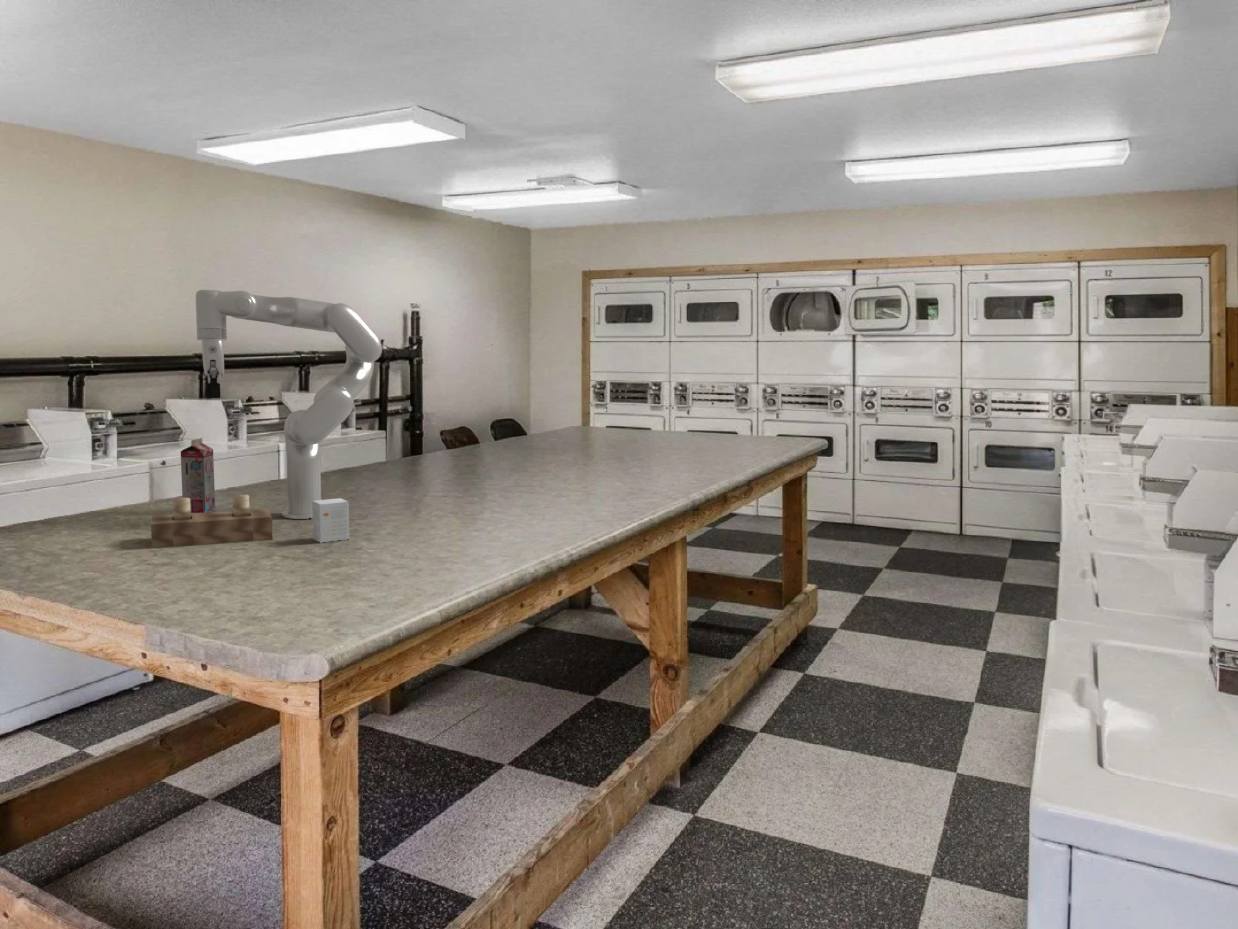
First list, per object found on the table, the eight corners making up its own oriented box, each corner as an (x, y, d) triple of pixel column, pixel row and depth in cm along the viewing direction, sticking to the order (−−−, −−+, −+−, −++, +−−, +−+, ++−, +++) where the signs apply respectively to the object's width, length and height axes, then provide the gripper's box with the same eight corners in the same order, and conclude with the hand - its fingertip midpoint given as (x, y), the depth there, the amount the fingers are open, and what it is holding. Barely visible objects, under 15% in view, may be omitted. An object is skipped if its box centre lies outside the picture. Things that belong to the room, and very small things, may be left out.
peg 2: (248, 515, 233) (248, 494, 232) (250, 518, 229) (249, 496, 228) (232, 516, 231) (231, 495, 230) (233, 519, 227) (232, 497, 226)
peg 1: (190, 519, 226) (189, 497, 225) (191, 522, 223) (190, 499, 222) (173, 520, 224) (172, 498, 224) (173, 523, 221) (172, 500, 220)
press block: (267, 530, 239) (267, 509, 238) (272, 539, 229) (272, 517, 228) (152, 538, 226) (151, 515, 225) (151, 548, 216) (150, 524, 215)
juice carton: (215, 509, 265) (212, 438, 262) (205, 514, 258) (202, 440, 256) (193, 509, 265) (190, 437, 262) (183, 513, 258) (180, 440, 255)
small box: (341, 536, 235) (341, 497, 234) (349, 540, 231) (349, 501, 230) (312, 539, 230) (311, 500, 229) (319, 543, 226) (319, 503, 225)
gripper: (227, 335, 235) (229, 399, 237) (225, 335, 250) (227, 395, 253) (196, 334, 232) (198, 399, 234) (196, 334, 247) (198, 395, 249)
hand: (213, 396), depth 243 cm, fingers open, 9 cm apart
